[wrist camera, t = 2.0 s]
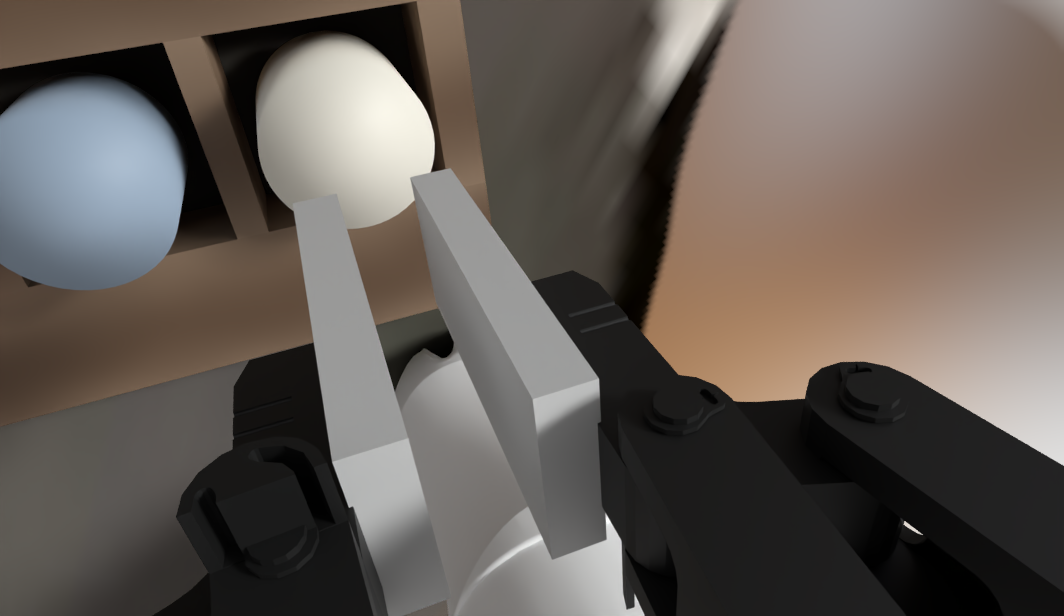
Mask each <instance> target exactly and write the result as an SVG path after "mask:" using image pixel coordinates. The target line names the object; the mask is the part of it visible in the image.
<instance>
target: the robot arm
mask: <svg viewBox="0 0 1064 616" xmlns="http://www.w3.org/2000/svg"><path fill="white" fill-rule="evenodd" d="M410 179H411V184H412V189H413V194H414V199H415V204H416V208H417V213H418V218H419V223H420V228H421V233H422V237H423V242H424V247H425V252H426V257H427V262H428V266H429V271H430V276H431V281H432V286H433V291H434V295H435V300H436V303H437V306H438V308H439V310H440V312H441V315H442V317H443V319H444V321H445V323H446V326H447V328H448V330H449V332H450V334H451V337H452V339H453V341H454V343H455V346H456V348H457V350H458V352H459V354H460V357H461V359H462V361H463V363H464V366H465V368H466V370H467V372H468V374H469V377H470V379H471V381H472V383H473V385H474V388H475V390H476V392H477V394H478V397H479V399H480V401H481V403H482V405H483V408H484V410H485V412H486V414H487V417H488V419H489V421H490V423H491V425H492V428H493V430H494V432H495V434H496V436H497V439H498V441H499V443H500V445H501V448H502V450H503V452H504V454H505V456H506V459H507V461H508V463H509V465H510V467H511V470H512V472H513V474H514V476H515V479H516V481H517V483H518V485H519V487H520V490H521V492H522V494H523V496H524V499H525V501H526V503H527V505H528V507H529V510H530V512H531V514H532V516H533V518H534V521H535V523H536V525H537V527H538V530H539V532H540V534H541V536H542V538H543V541H544V543H545V545H546V547H547V550H548V552H549V554H550V556H551V558H552V560H554V559H556V558H559V557H562V556H564V555H567V554H570V553H572V552H575V551H578V550H581V549H583V548H586V547H589V546H591V545H594V544H597V543H599V542H602V541H605V540H607V535H606V515H607V516H608V518H609V520H610V522H611V523H612V525H613V527H614V529H615V530H616V532H617V534H618V536H619V537H620V539H621V542H622V576H623V596H624V600H625V605H626V610H628V609H631V608H634V607H635V595H636V598H637V600H638V602H639V604H640V606H641V609H642V611H643V613H644V615H645V616H1064V466H1063V465H1061V464H1059V463H1058V462H1056V461H1054V460H1053V459H1051V458H1049V457H1047V456H1046V455H1044V454H1042V453H1041V452H1039V451H1037V450H1035V449H1034V448H1032V447H1030V446H1029V445H1027V444H1025V443H1023V442H1022V441H1020V440H1018V439H1017V438H1015V437H1013V436H1011V435H1010V434H1008V433H1006V432H1005V431H1003V430H1001V429H999V428H997V427H996V426H994V425H993V424H991V423H989V422H988V421H986V420H984V419H982V418H981V417H979V416H977V415H976V414H973V413H972V412H971V411H969V410H967V409H965V408H964V407H962V406H960V405H958V404H957V403H955V402H953V401H952V400H950V399H948V398H946V397H945V396H943V395H941V394H940V393H938V392H936V391H935V390H933V389H931V388H929V387H928V386H926V385H924V384H923V383H921V382H919V381H918V380H916V379H914V378H912V377H911V376H908V375H906V374H904V373H901V372H899V371H896V370H895V369H892V368H890V367H887V366H883V365H877V364H873V363H868V362H840V363H837V364H833V365H830V366H827V367H824V368H821V369H820V370H819V371H818V372H817V373H816V374H814V375H813V376H812V377H811V378H810V379H809V383H808V387H807V391H806V396H805V399H795V400H780V401H765V402H736V401H733V400H732V398H730V397H729V396H728V395H727V394H726V393H725V392H723V391H722V390H721V389H720V388H718V387H717V386H716V385H714V384H711V383H709V382H706V381H704V380H702V379H699V378H697V377H689V376H682V375H678V374H677V373H676V372H675V371H674V369H673V368H672V367H671V366H670V365H669V363H668V362H667V361H666V360H665V359H664V358H663V357H662V355H661V354H660V353H659V352H658V351H657V350H656V349H655V347H654V346H653V345H652V344H651V343H650V342H649V340H648V339H647V338H646V337H645V336H644V335H643V334H642V332H641V331H640V330H639V329H638V328H637V327H636V326H635V324H634V323H633V322H632V321H631V320H628V317H627V315H626V314H625V313H624V312H623V311H622V309H621V308H620V307H619V306H618V305H615V302H614V300H613V299H612V298H611V297H610V296H609V294H608V293H607V292H606V291H605V290H604V289H603V288H602V286H601V285H600V284H599V283H598V282H595V281H593V280H591V279H589V278H587V277H585V276H583V275H581V274H579V273H577V272H575V271H569V272H565V273H562V274H558V275H554V276H550V277H547V278H543V279H539V280H536V281H532V282H530V280H529V279H528V277H527V276H526V274H525V273H524V272H523V270H522V269H521V267H520V266H519V265H518V263H517V262H516V260H515V259H514V257H513V256H512V255H511V253H510V252H509V250H508V249H507V248H506V246H505V245H504V243H503V242H502V240H501V239H500V238H499V236H498V235H497V233H496V232H495V231H494V229H493V228H492V226H491V225H490V223H489V222H488V221H487V219H486V218H485V216H484V215H483V214H482V212H481V211H480V209H479V208H478V206H477V205H476V204H475V202H474V201H473V199H472V198H471V197H470V195H469V194H468V192H467V191H466V189H465V188H464V187H463V185H462V184H461V182H460V181H459V179H458V178H457V177H456V175H455V174H454V172H453V171H452V170H451V168H449V169H444V170H440V171H436V172H431V173H427V174H422V175H418V176H413V177H410ZM293 209H294V215H295V222H296V228H297V235H298V241H299V248H300V255H301V261H302V268H303V274H304V281H305V287H306V294H307V300H308V307H309V314H310V320H311V327H312V333H313V340H314V343H312V344H308V345H304V346H301V347H297V348H293V349H290V350H286V351H282V352H279V353H275V354H271V355H267V356H264V357H260V358H256V359H253V360H249V362H248V364H247V365H246V367H245V369H244V370H243V372H242V374H241V375H240V377H239V379H238V380H237V382H236V384H235V385H234V402H233V413H234V418H233V436H234V440H233V450H231V451H229V452H226V453H224V454H222V455H221V456H219V457H218V458H217V459H215V460H214V461H213V462H212V463H210V464H209V465H208V466H207V467H205V468H204V469H203V470H201V471H200V472H199V473H198V474H197V475H196V477H195V478H194V479H193V481H192V482H191V483H190V485H189V486H188V488H187V489H186V490H185V492H184V493H183V494H182V497H181V501H180V504H179V508H178V512H177V516H176V518H177V520H178V521H179V523H180V525H181V526H182V528H183V530H184V531H185V533H186V535H187V537H188V538H189V540H190V542H191V543H192V545H193V547H194V548H195V550H196V552H197V553H198V555H199V557H200V559H201V560H202V562H203V564H204V565H205V567H206V569H207V570H208V572H209V573H208V574H207V575H206V576H205V577H204V578H203V579H202V580H200V581H199V582H198V583H197V584H196V585H195V586H194V587H193V588H192V589H191V590H190V591H189V592H187V593H186V594H184V595H183V596H182V597H180V598H179V599H178V600H176V601H175V602H173V603H172V604H171V605H169V606H167V607H166V608H164V609H162V610H161V611H159V612H158V613H156V614H154V615H153V616H388V615H389V616H404V615H406V614H409V613H412V612H414V611H417V610H420V609H422V608H425V607H428V606H430V605H433V604H436V603H438V602H441V601H444V600H446V599H449V598H451V594H450V591H449V587H448V583H447V580H446V576H445V572H444V568H443V565H442V561H441V557H440V554H439V550H438V546H437V543H436V539H435V535H434V531H433V528H432V524H431V520H430V517H429V513H428V509H427V506H426V502H425V498H424V495H423V491H422V487H421V483H420V480H419V476H418V472H417V469H416V465H415V461H414V458H413V454H412V450H411V446H410V443H409V439H408V436H407V432H406V429H405V425H404V422H403V419H402V415H401V412H400V408H399V405H398V402H397V398H396V395H395V391H394V388H393V385H392V381H391V378H390V374H389V371H388V367H387V364H386V361H385V357H384V354H383V350H382V347H381V344H380V340H379V337H378V333H377V330H376V327H375V323H374V320H373V316H372V313H371V310H370V306H369V303H368V299H367V296H366V293H365V289H364V286H363V282H362V279H361V276H360V272H359V269H358V265H357V262H356V258H355V255H354V252H353V248H352V245H351V241H350V238H349V235H348V231H347V228H346V224H345V221H344V218H343V214H342V211H341V207H340V204H339V201H338V197H337V194H332V195H328V196H323V197H319V198H314V199H310V200H305V201H301V202H296V203H293ZM605 513H606V514H605ZM904 521H906V522H907V523H908V524H910V525H911V526H912V527H914V528H915V529H916V530H918V531H919V532H920V533H921V534H923V535H920V534H917V533H916V532H914V531H912V530H911V529H909V528H907V527H906V526H905V525H903V524H904ZM634 593H635V594H634ZM387 612H388V613H387Z"/></svg>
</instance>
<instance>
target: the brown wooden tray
mask: <svg viewBox="0 0 1064 616" xmlns="http://www.w3.org/2000/svg"><path fill="white" fill-rule="evenodd" d="M396 4H400V6H401V11H402V17H403V22H404V28H405V33H406V38H407V44H408V49H409V54H410V60H411V65H412V70H413V76H414V81H415V86H416V92H417V97H418V98H419V100H420V101H421V103H422V104H423V106H424V108H425V110H426V112H427V114H428V116H429V119H430V121H431V125H432V129H433V133H434V142H435V150H434V160H433V165H432V169H431V172H436V171H440V170H444V169H449V168H451V170H452V171H453V172H454V174H455V175H456V177H457V178H458V179H459V181H460V182H461V184H462V185H463V187H464V188H465V189H466V191H467V192H468V194H469V195H470V197H471V198H472V199H473V201H474V202H475V204H476V205H477V206H478V208H479V209H480V211H481V212H482V214H483V215H484V216H485V218H486V219H487V221H488V222H489V223H490V225H491V218H490V210H489V203H488V196H487V189H486V182H485V175H484V168H483V161H482V154H481V146H480V139H479V132H478V125H477V118H476V111H475V104H474V97H473V89H472V82H471V75H470V68H469V61H468V54H467V47H466V40H465V33H464V25H463V18H462V11H461V4H460V0H0V69H2V68H9V67H15V66H21V65H27V64H33V63H39V62H45V61H52V60H58V59H64V58H70V57H76V56H82V55H89V54H95V53H101V52H107V51H113V50H119V49H125V48H132V47H138V46H144V45H150V44H156V43H162V42H163V44H164V47H165V49H166V52H167V55H168V57H169V60H170V63H171V65H172V68H173V70H174V73H175V76H176V78H177V81H178V84H179V86H180V89H181V92H182V94H183V97H184V99H185V102H186V105H187V107H188V110H189V113H190V115H191V118H192V121H193V123H194V126H195V128H196V131H197V134H198V136H199V139H200V142H201V144H202V147H203V150H204V152H205V155H206V157H207V160H208V163H209V165H210V168H211V171H212V173H213V176H214V178H215V181H216V184H217V186H218V189H219V192H220V194H221V197H222V200H223V202H224V204H221V205H216V206H211V207H207V208H202V209H198V210H193V211H188V212H184V213H180V218H179V224H178V229H177V233H176V236H175V239H174V242H173V244H172V246H171V248H170V250H169V251H168V253H167V254H166V256H165V257H164V258H163V259H162V260H161V261H160V262H159V263H158V265H157V266H155V267H154V268H153V269H152V270H150V271H149V272H148V273H146V274H145V275H143V276H141V277H139V278H138V279H135V280H133V281H131V282H128V283H126V284H123V285H119V286H116V287H111V288H106V289H99V290H71V289H62V288H57V287H52V286H48V285H44V284H41V283H38V282H35V281H32V280H30V279H27V278H25V277H23V276H20V275H18V274H17V273H15V272H13V271H11V270H9V269H7V268H6V267H4V266H3V265H2V264H0V427H1V426H5V425H8V424H12V423H16V422H19V421H23V420H27V419H30V418H34V417H38V416H41V415H45V414H49V413H53V412H56V411H60V410H64V409H67V408H71V407H75V406H78V405H82V404H86V403H90V402H93V401H97V400H101V399H104V398H108V397H112V396H115V395H119V394H123V393H126V392H130V391H134V390H138V389H141V388H145V387H149V386H152V385H156V384H160V383H163V382H167V381H171V380H175V379H178V378H182V377H186V376H189V375H193V374H197V373H200V372H204V371H208V370H211V369H215V368H219V367H223V366H226V365H230V364H234V363H237V362H241V361H245V360H248V359H252V358H256V357H260V356H263V355H267V354H271V353H274V352H278V351H282V350H285V349H289V348H293V347H297V346H300V345H304V344H308V343H311V342H314V340H313V333H312V327H311V320H310V314H309V307H308V300H307V294H306V287H305V281H304V274H303V268H302V261H301V255H300V248H299V241H298V235H297V228H296V222H295V215H294V211H293V210H291V209H290V208H289V207H287V206H286V205H285V204H284V203H283V202H282V201H281V200H280V199H279V198H278V196H277V195H276V194H275V193H271V194H266V193H265V190H264V187H263V184H262V181H261V178H260V175H259V172H258V169H257V167H256V164H255V161H254V158H253V155H252V152H251V149H250V146H249V143H248V140H247V137H246V134H245V131H244V128H243V125H242V122H241V119H240V116H239V113H238V110H237V108H236V105H235V102H234V99H233V96H232V93H231V90H230V87H229V84H228V81H227V78H226V75H225V72H224V69H223V66H222V63H221V60H220V57H219V54H218V51H217V49H216V46H215V43H214V40H213V37H212V34H218V33H224V32H230V31H236V30H242V29H248V28H254V27H261V26H267V25H273V24H279V23H285V22H291V21H297V20H304V19H310V18H316V17H322V16H328V15H334V14H341V13H347V12H353V11H359V10H365V9H371V8H377V7H384V6H390V5H396ZM431 172H430V173H431ZM491 226H492V225H491ZM347 231H348V235H349V238H350V241H351V245H352V248H353V252H354V255H355V258H356V262H357V265H358V269H359V272H360V276H361V279H362V282H363V286H364V289H365V293H366V296H367V299H368V303H369V306H370V310H371V313H372V316H373V320H374V323H375V325H378V324H382V323H385V322H389V321H393V320H396V319H400V318H404V317H407V316H411V315H415V314H418V313H422V312H426V311H430V310H433V309H437V308H438V306H437V303H436V300H435V295H434V291H433V286H432V281H431V276H430V271H429V266H428V262H427V257H426V252H425V247H424V242H423V237H422V233H421V228H420V223H419V218H418V213H417V208H416V204H415V200H414V201H413V202H412V203H411V204H410V205H409V206H408V207H407V208H406V209H404V210H403V211H402V212H400V213H399V214H398V215H396V216H394V217H393V218H391V219H389V220H387V221H384V222H382V223H380V224H377V225H373V226H370V227H364V228H358V229H347Z"/></svg>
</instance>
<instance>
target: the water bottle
mask: <svg viewBox="0 0 1064 616" xmlns="http://www.w3.org/2000/svg"><path fill="white" fill-rule="evenodd" d="M395 395H396V398H397V402H398V405H399V408H400V412H401V415H402V419H403V422H404V425H405V429H406V432H407V436H408V439H409V443H410V446H411V450H412V454H413V458H414V461H415V465H416V469H417V472H418V476H419V480H420V483H421V487H422V491H423V495H424V498H425V502H426V506H427V509H428V513H429V517H430V520H431V524H432V528H433V531H434V535H435V539H436V543H437V546H438V550H439V554H440V557H441V561H442V565H443V568H444V572H445V576H446V580H447V583H448V587H449V591H450V594H451V598H449V599H447V606H448V616H645V615H644V613H643V611H642V609H641V606H640V604H639V602H638V600H637V598H636V595H635V607H634V608H631V609H628V610H626V605H625V600H624V596H623V576H622V542H621V539H620V537H619V536H618V534H617V532H616V530H615V529H614V527H613V525H612V523H611V522H610V520H609V518H608V516H607V515H606V535H607V540H605V541H602V542H599V543H597V544H594V545H591V546H589V547H586V548H583V549H581V550H578V551H575V552H572V553H570V554H567V555H564V556H562V557H559V558H556V559H554V560H552V558H551V556H550V554H549V552H548V550H547V547H546V545H545V543H544V541H543V538H542V536H541V534H540V532H539V530H538V527H537V525H536V523H535V521H534V518H533V516H532V514H531V512H530V510H529V507H528V505H527V503H526V501H525V499H524V496H523V494H522V492H521V490H520V487H519V485H518V483H517V481H516V479H515V476H514V474H513V472H512V470H511V467H510V465H509V463H508V461H507V459H506V456H505V454H504V452H503V450H502V448H501V445H500V443H499V441H498V439H497V436H496V434H495V432H494V430H493V428H492V425H491V423H490V421H489V419H488V417H487V414H486V412H485V410H484V408H483V405H482V403H481V401H480V399H479V397H478V394H477V392H476V390H475V388H474V385H473V383H472V381H471V379H470V377H469V374H468V372H467V370H466V368H465V366H464V363H463V361H462V359H461V357H460V354H459V352H458V350H457V348H456V346H455V343H454V346H453V351H452V352H451V354H450V355H449V356H447V357H446V358H440V357H439V356H437V355H435V354H433V353H431V352H430V351H428V350H427V349H425V348H424V349H423V350H422V351H421V352H419V353H417V354H416V355H414V356H413V357H412V359H411V360H410V361H409V363H408V364H407V366H406V368H405V370H404V371H403V373H402V375H401V378H400V380H399V382H398V385H397V387H396V391H395ZM605 514H606V513H605ZM634 594H635V593H634Z"/></svg>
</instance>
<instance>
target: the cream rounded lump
mask: <svg viewBox="0 0 1064 616" xmlns="http://www.w3.org/2000/svg"><path fill="white" fill-rule="evenodd" d="M255 106H256V123H257V141H258V153H259V159H260V163H261V167H262V170H263V173H264V175H265V177H266V180H267V181H268V183H269V185H270V187H271V188H272V190H273V191H274V192H275V194H276V195H277V196H278V198H279V199H280V200H281V201H282V202H283V203H284V204H285V205H286V206H287V207H289V208H290V209H291V210H293V211H294V209H293V203H296V202H301V201H305V200H310V199H314V198H319V197H323V196H328V195H332V194H337V197H338V201H339V204H340V207H341V211H342V214H343V218H344V221H345V224H346V228H347V229H358V228H364V227H370V226H373V225H377V224H380V223H382V222H384V221H387V220H389V219H391V218H393V217H394V216H396V215H398V214H399V213H400V212H402V211H403V210H404V209H406V208H407V207H408V206H409V205H410V204H411V203H412V202H413V201H414V200H415V199H414V194H413V189H412V184H411V179H410V177H413V176H418V175H422V174H427V173H430V172H431V169H432V165H433V160H434V150H435V142H434V133H433V129H432V125H431V121H430V119H429V116H428V114H427V112H426V110H425V108H424V106H423V104H422V103H421V101H420V100H419V98H418V97H417V96H416V94H415V93H414V92H413V91H412V89H411V88H410V87H409V85H408V84H407V83H406V82H405V80H404V79H403V78H402V76H401V75H400V74H399V73H398V71H397V70H396V69H395V68H394V66H393V65H392V64H391V62H390V61H389V60H388V59H387V58H386V57H385V56H384V55H383V53H382V52H380V51H379V50H378V49H377V48H376V47H374V46H373V45H371V44H370V43H368V42H367V41H365V40H363V39H361V38H359V37H357V36H354V35H351V34H348V33H344V32H338V31H314V32H310V33H306V34H302V35H300V36H297V37H295V38H293V39H291V40H289V41H288V42H286V43H285V44H283V45H282V46H281V47H279V48H278V49H277V50H276V51H275V52H274V53H273V54H272V55H271V56H270V58H269V59H268V61H267V62H266V64H265V65H264V67H263V69H262V71H261V73H260V76H259V79H258V82H257V88H256V96H255Z"/></svg>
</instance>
